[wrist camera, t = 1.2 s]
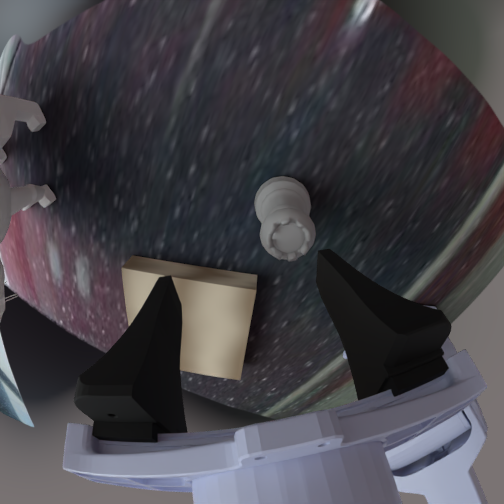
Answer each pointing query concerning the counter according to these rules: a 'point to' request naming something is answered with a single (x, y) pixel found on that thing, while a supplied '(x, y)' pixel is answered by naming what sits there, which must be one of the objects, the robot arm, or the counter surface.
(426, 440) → the robot arm
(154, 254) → the counter surface
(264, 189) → the rook chess piece
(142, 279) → the wooden plinth
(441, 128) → the counter surface
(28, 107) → the cat figurine
